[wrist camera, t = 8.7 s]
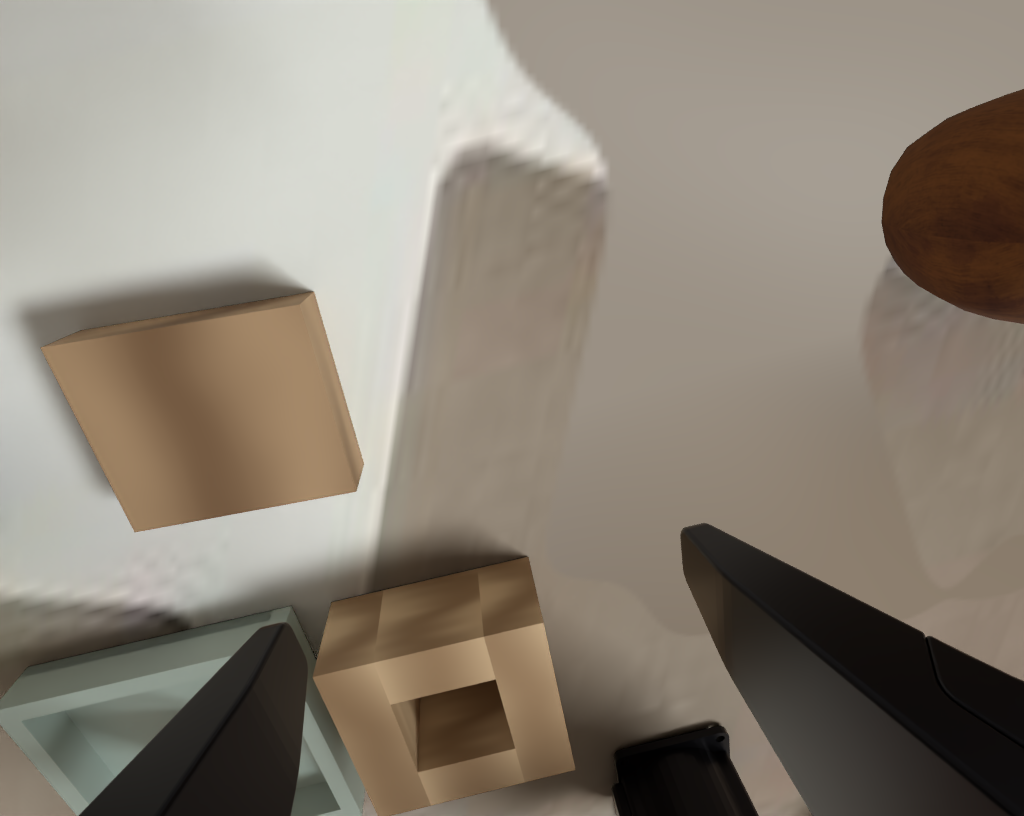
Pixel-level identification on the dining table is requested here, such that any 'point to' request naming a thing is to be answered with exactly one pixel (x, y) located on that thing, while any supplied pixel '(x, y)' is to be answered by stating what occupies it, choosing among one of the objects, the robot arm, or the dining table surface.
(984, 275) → the wooden figurine
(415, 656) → the socket block
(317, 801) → the tray
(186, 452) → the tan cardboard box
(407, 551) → the dining table surface
